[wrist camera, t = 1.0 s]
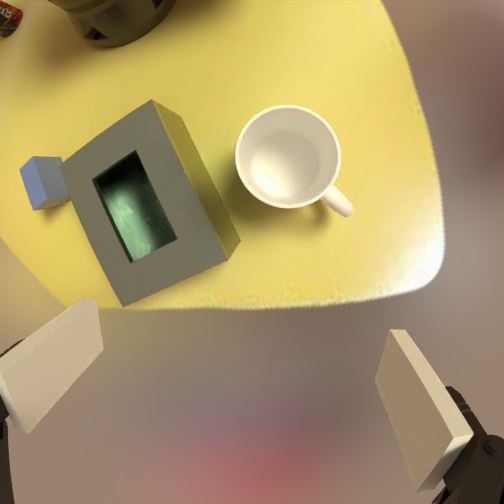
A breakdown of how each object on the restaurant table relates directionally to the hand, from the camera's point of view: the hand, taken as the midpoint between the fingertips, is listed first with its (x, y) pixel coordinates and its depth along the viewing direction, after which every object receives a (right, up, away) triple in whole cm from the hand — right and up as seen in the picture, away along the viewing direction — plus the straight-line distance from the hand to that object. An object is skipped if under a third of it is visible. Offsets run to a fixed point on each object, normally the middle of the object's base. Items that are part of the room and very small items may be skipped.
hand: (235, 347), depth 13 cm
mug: (+6, +13, +21) cm, 25 cm away
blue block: (-25, +14, +23) cm, 37 cm away
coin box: (-9, +10, +22) cm, 26 cm away
